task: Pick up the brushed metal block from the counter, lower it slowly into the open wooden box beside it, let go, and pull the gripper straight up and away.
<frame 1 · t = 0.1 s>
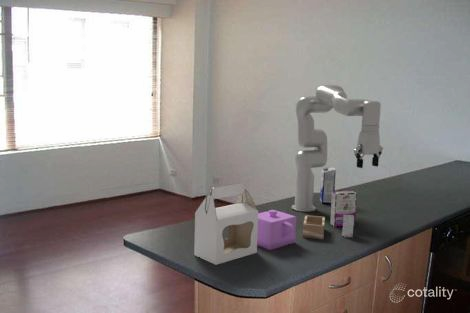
hand: (367, 166, 231), 31 cm above the worktop, tool pointing down, fingers open, 9 cm apart
gable box: (225, 254, 204), on the worktop
brushed metal block: (347, 235, 232), on the worktop
milk carton: (326, 202, 290), on the worktop
open wooden box: (313, 233, 234), on the worktop
teapot: (269, 242, 221), on the worktop
candy bar box: (342, 225, 248), on the worktop
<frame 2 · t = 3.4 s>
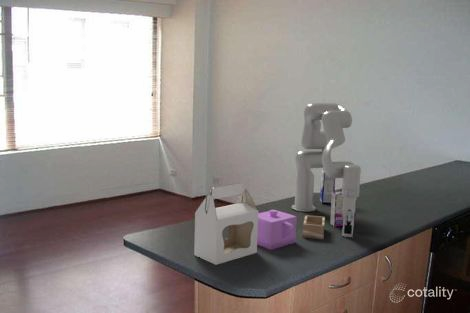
hand: (347, 231, 232), 2 cm above the worktop, tool pointing down, fingers closed on brushed metal block, 4 cm apart
brushed metal block: (347, 235, 232), on the worktop, touching gripper
everything else where it was.
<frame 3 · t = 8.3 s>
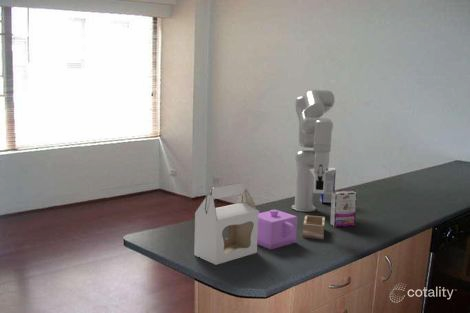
hand: (319, 187, 230), 21 cm above the worktop, tool pointing down, fingers closed on brushed metal block, 4 cm apart
brushed metal block: (319, 192, 231), point 19 cm above the worktop, touching gripper
everything else where it was.
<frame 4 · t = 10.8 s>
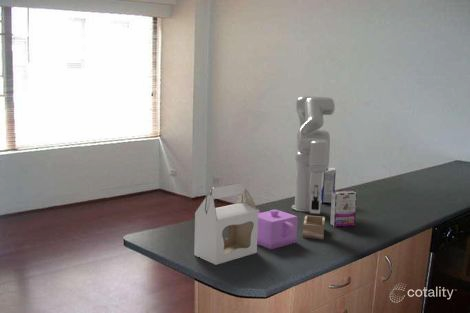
hand: (315, 207, 232), 12 cm above the worktop, tool pointing down, fingers closed on brushed metal block, 4 cm apart
brushed metal block: (315, 211, 232), point 10 cm above the worktop, touching gripper
everything else where it was.
when the fingers open (4 cm above the worktop, at t = 13.0 s): brushed metal block drops 1 cm, resting on open wooden box.
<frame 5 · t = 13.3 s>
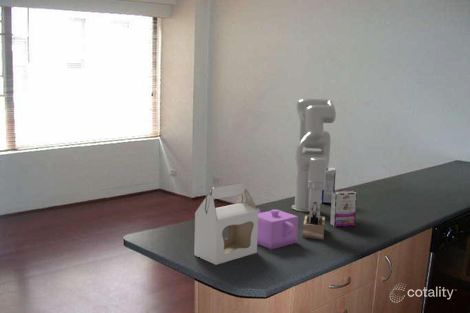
hand: (314, 222, 233), 5 cm above the worktop, tool pointing down, fingers open, 7 cm apart
brushed metal block: (313, 230, 234), point 1 cm above the worktop, touching open wooden box
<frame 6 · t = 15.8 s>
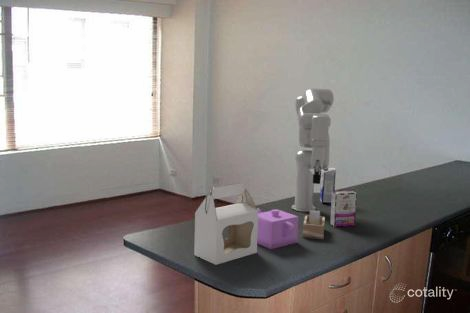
hand: (316, 181, 230), 24 cm above the worktop, tool pointing down, fingers open, 9 cm apart
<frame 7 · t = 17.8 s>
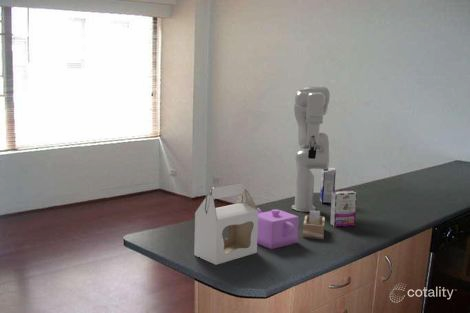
hand: (312, 156, 240), 33 cm above the worktop, tool pointing down, fingers open, 9 cm apart
at the end: brushed metal block 0.3 cm off-centre on the open wooden box, point 1.0 cm above the open wooden box's base; brushed metal block tilted 0°; the gripper is holding nothing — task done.
